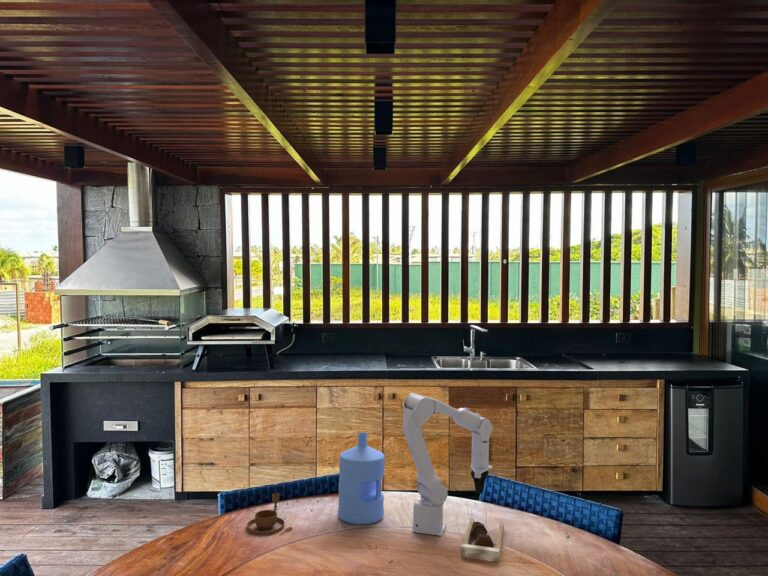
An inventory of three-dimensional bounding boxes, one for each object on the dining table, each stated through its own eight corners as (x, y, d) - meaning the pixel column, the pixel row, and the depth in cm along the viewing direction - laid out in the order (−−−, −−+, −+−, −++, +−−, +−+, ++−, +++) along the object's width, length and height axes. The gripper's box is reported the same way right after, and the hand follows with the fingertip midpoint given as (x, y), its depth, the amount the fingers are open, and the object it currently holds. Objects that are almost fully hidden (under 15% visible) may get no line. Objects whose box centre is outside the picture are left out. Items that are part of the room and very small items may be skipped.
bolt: (479, 537, 174) (487, 558, 159) (465, 529, 175) (472, 549, 160) (488, 522, 175) (497, 541, 160) (475, 513, 175) (482, 532, 160)
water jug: (329, 520, 181) (331, 436, 181) (350, 504, 195) (352, 426, 196) (372, 529, 175) (374, 442, 175) (390, 512, 189) (392, 431, 190)
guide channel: (460, 556, 157) (460, 546, 157) (470, 524, 180) (470, 515, 180) (498, 562, 154) (498, 551, 154) (503, 528, 177) (503, 519, 177)
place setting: (231, 529, 174) (232, 510, 174) (273, 508, 191) (274, 492, 191) (273, 542, 165) (274, 523, 165) (313, 519, 183) (314, 502, 183)
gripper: (490, 459, 175) (489, 502, 175) (493, 448, 189) (493, 487, 189) (468, 457, 177) (467, 499, 177) (473, 446, 191) (472, 484, 191)
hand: (479, 492), depth 183 cm, fingers closed
